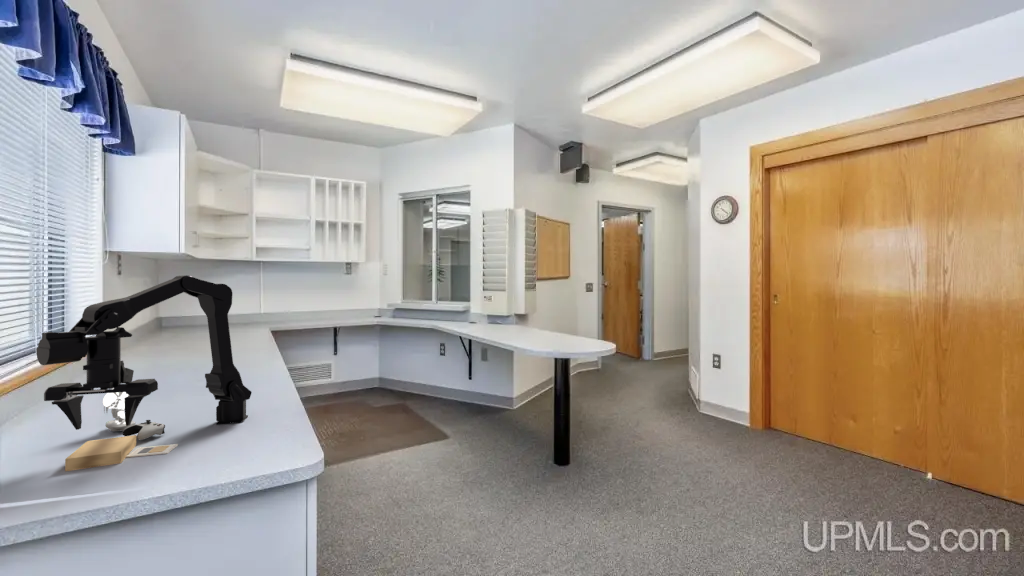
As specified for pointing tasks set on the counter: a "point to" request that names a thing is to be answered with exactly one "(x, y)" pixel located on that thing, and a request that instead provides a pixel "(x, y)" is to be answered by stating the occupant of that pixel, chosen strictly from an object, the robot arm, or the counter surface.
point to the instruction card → (152, 450)
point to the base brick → (100, 453)
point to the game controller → (144, 430)
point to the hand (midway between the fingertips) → (103, 427)
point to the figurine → (116, 410)
